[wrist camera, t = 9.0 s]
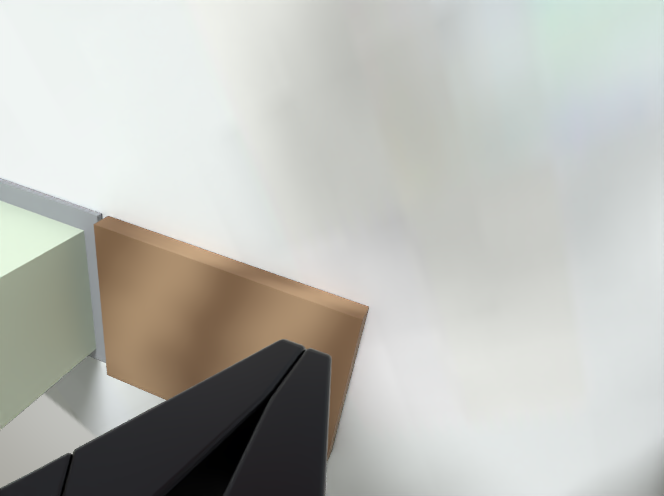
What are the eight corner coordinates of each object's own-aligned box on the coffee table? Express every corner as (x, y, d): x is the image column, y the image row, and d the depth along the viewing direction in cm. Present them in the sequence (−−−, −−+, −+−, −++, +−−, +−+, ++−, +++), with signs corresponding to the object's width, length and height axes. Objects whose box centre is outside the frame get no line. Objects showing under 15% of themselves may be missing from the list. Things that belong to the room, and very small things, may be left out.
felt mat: (101, 213, 25) (97, 216, 24) (113, 361, 30) (109, 364, 30) (-51, 160, 27) (-56, 162, 26) (-15, 307, 32) (-19, 310, 31)
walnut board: (369, 306, 22) (362, 319, 21) (331, 452, 27) (324, 467, 26) (108, 216, 25) (93, 224, 24) (119, 363, 30) (107, 374, 29)
